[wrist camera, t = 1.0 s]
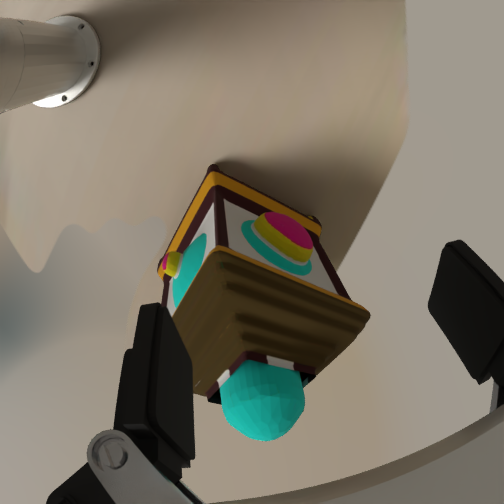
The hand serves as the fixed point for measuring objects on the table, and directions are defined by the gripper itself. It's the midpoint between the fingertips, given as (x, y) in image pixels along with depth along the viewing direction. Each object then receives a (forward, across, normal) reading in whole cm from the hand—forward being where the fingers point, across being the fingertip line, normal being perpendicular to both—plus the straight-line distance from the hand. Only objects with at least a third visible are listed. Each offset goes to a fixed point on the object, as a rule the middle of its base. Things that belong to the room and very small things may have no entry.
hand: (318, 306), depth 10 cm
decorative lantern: (+33, +3, +17) cm, 37 cm away
